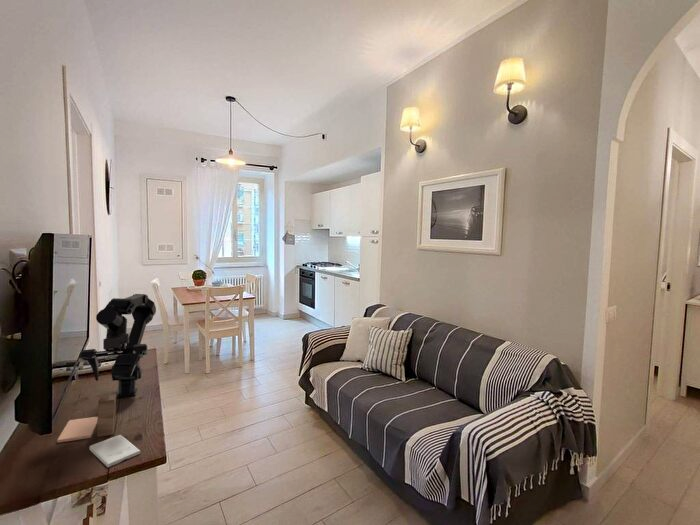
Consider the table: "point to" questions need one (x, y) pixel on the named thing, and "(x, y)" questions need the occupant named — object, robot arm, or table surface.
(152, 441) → the table surface
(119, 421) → the table surface
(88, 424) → the terracotta mat
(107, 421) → the brown rectangular block
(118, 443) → the external hard drive
